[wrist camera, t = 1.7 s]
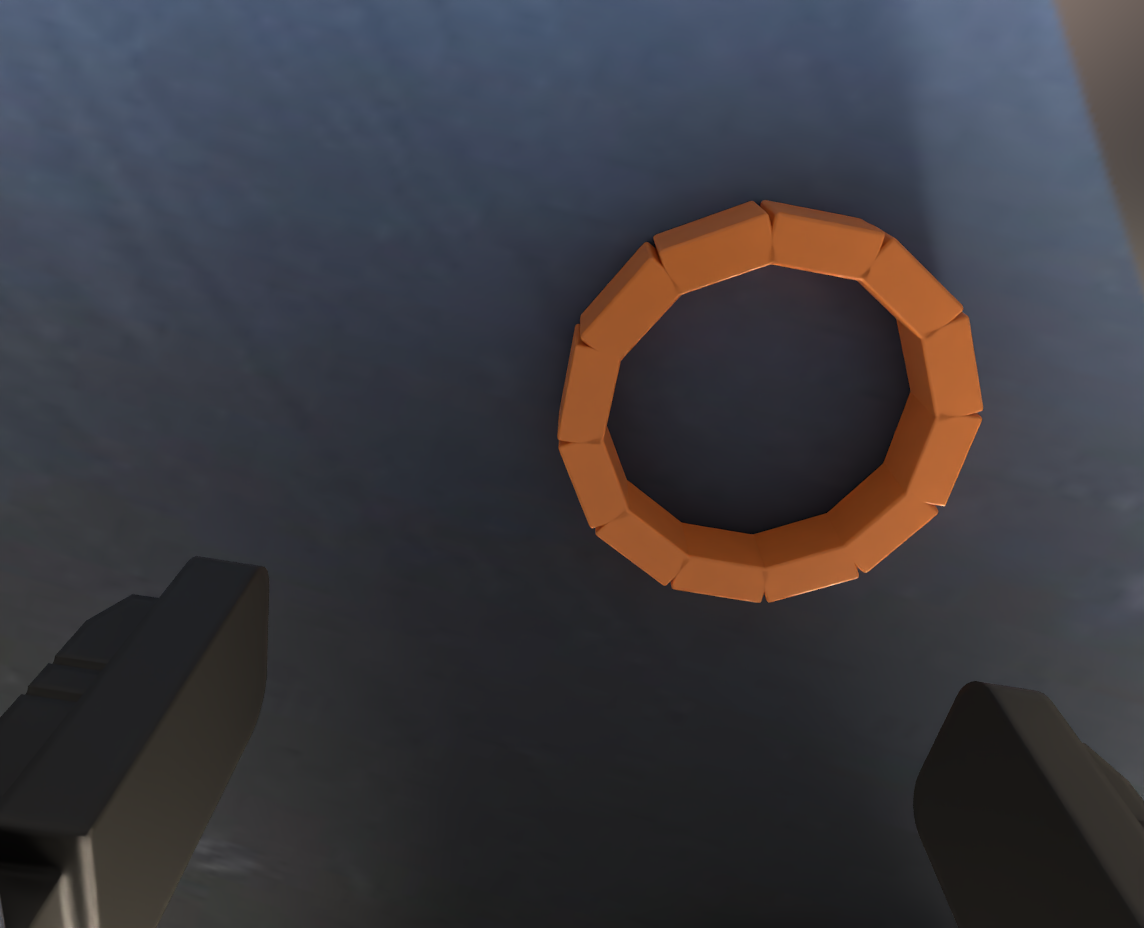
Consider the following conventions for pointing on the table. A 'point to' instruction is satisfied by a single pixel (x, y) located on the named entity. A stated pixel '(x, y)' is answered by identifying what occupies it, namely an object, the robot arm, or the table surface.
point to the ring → (869, 512)
